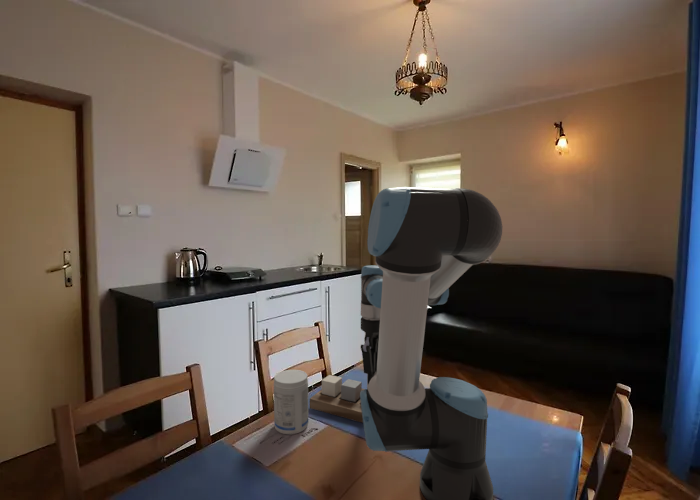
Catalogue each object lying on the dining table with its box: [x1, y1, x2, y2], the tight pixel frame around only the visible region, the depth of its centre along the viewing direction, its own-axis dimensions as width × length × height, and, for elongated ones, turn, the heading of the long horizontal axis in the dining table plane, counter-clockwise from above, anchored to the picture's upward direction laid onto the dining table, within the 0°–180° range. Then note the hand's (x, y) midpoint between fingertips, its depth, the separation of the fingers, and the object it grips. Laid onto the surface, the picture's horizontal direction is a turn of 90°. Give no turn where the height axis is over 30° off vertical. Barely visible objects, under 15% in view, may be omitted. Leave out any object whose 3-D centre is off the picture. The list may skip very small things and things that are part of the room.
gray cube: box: [341, 378, 363, 403], centre depth 114 cm, size 5×5×4 cm
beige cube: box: [321, 374, 343, 398], centre depth 117 cm, size 5×5×4 cm
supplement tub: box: [273, 369, 309, 435], centre depth 102 cm, size 10×10×15 cm
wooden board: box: [309, 388, 366, 423], centre depth 114 cm, size 14×22×3 cm, turn 64°
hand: (372, 393), depth 111 cm, fingers closed
